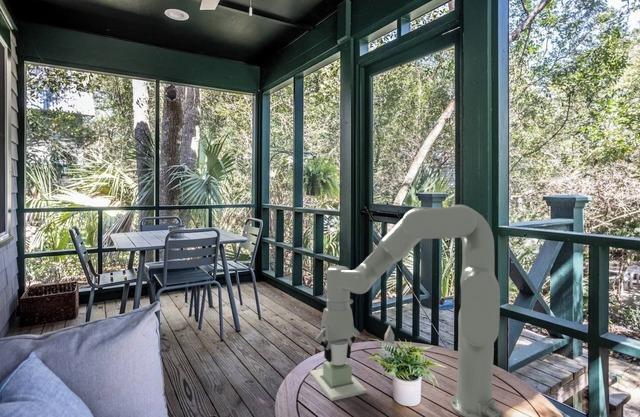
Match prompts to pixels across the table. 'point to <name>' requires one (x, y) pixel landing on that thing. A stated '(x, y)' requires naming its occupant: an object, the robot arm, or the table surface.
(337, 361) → the white cylinder
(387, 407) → the table surface
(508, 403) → the table surface
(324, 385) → the cream flat rectangular slab
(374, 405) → the table surface
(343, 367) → the sage block
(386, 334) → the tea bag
